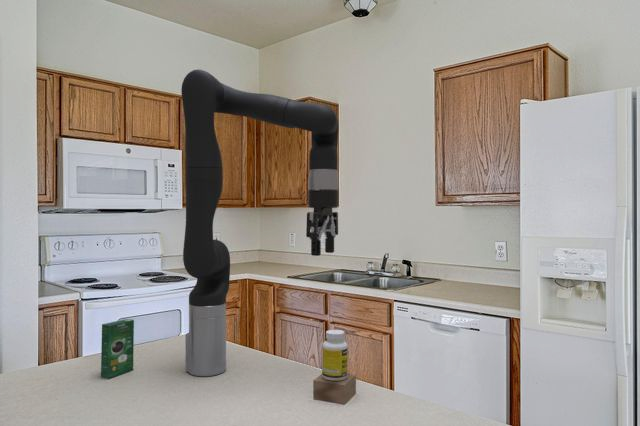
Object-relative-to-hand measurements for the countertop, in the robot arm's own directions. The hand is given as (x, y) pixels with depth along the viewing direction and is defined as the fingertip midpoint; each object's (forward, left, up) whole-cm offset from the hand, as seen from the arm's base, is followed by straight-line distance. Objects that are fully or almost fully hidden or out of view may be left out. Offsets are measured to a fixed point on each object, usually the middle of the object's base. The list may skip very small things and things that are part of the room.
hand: (322, 254), depth 121 cm
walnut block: (+9, -14, -29) cm, 33 cm away
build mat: (+7, -12, -30) cm, 33 cm away
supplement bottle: (+9, -14, -25) cm, 30 cm away
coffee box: (-47, -20, -30) cm, 59 cm away
